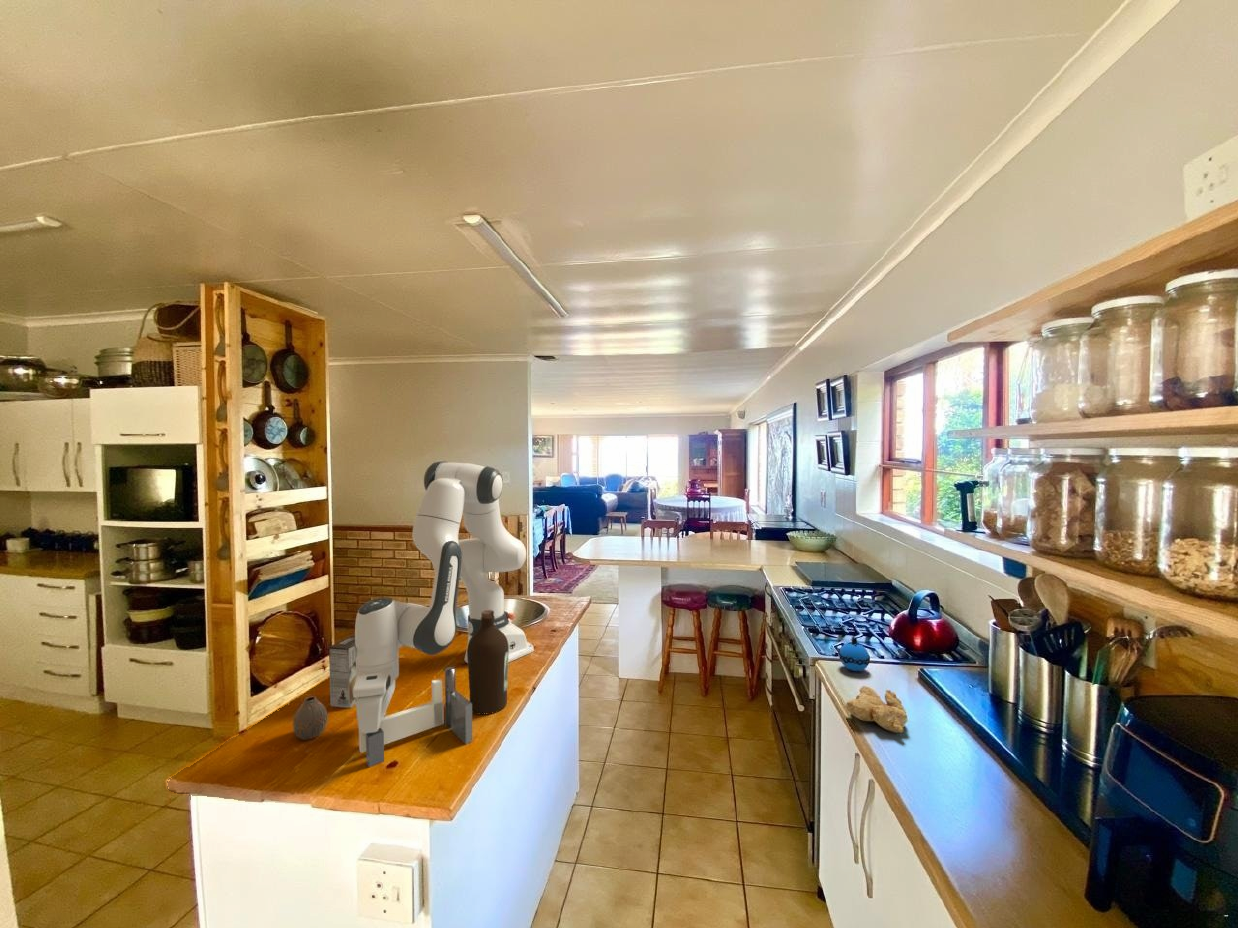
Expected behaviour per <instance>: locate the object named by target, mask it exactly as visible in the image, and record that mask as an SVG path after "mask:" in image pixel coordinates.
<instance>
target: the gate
mask: <svg viewBox="0 0 1238 928" xmlns="http://www.w3.org/2000/svg"><path fill="white" fill-rule="evenodd" d="M444 715H445V714H444V700H443V680H442V679H441V678H437V679H435V680H434V679H433V680H431V701H429V702H425V703H424V704H420V705H417V706H413V707H411V708H408V709H404V710H402V711H397V712H395V713H392V714H389V715H385V717H383V720H382V722H381V724H380V727H379V728H381V729H382V730H383V731H384V746H385V745H386V744H391V743H393V742H395V741H399V740H402V739H405V738H407V737H410V736H413V735H416V734H418V733H421V732H424V731H427V730H430V729H433V728H436V727H439V726H441V725H444V723H445V722H444V720H445V718H444ZM358 747H359V748H358V749H359V752H360V754H361V753H366V734H361V733H360V731H359V730H358Z"/></svg>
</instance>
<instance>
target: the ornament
mask: <svg viewBox="0 0 1238 928" xmlns="http://www.w3.org/2000/svg"><path fill="white" fill-rule="evenodd" d="M857 639H858V638H857V637H852V639H851V641H849V642H846V643H844V644H843V645H842V646H841V647H840V649H839V650H838V658H839V660H840V663H841V664H842V665H843V666H844V667H845V668H847V669H848V670H850V671H851V672H861V671H864V670H866V669H867V667H868V666H869V664H870V661H871V656H870V653H869V651H868V650H867V649H866V647H865V646H863V644H861V643H859V642H857V641H858V640H857Z"/></svg>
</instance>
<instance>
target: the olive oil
mask: <svg viewBox="0 0 1238 928" xmlns="http://www.w3.org/2000/svg"><path fill="white" fill-rule="evenodd" d="M467 645H468V648H467V647H466V651H467V658H468V663H467V667H468V668H467V669H468V670H467V671H468V683H469V685H468V687H469V701H470V702H471V703H472V713H474V712H475V713H474V714H477V713H480V714H479V715H487V714H486V713H492V712H495V713H497V712H496V711H498V712H500V711H502V710H503V709H505V707H506V706H507V704H508V703H507V702H508V678H509V677H508V671H509V663H508V654H509V645H508V641H507V638H506V636H505V635H504V634H503V633H502V632H501V631H500V630H499V629H498V628H497V627H496V626H495V625H494V611H493V610H485V611H483V612H482V617H481V627H480V628H479V630H478V631H477V632H476V633H475V634H474V635H473V636H472V638H471V639H470V641H469V644H468V643H467ZM501 709H502V710H501ZM499 710H500V711H499ZM484 713H485V714H484ZM492 714H493V713H492Z"/></svg>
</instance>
